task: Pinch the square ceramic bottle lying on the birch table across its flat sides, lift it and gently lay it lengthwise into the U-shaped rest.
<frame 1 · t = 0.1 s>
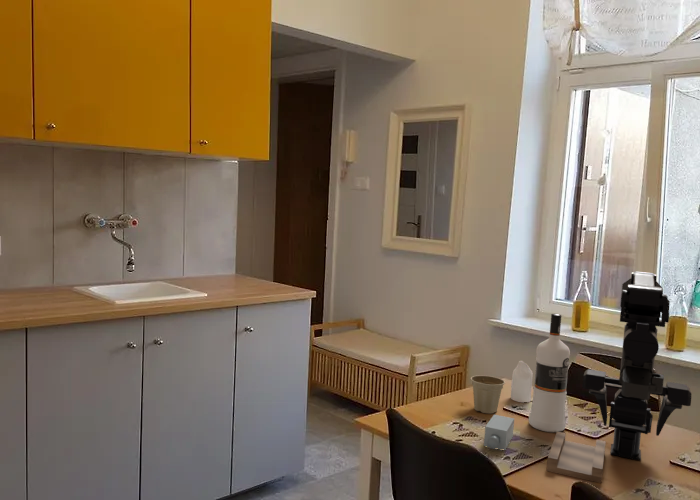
hand: (630, 430, 119), 15 cm above the table, fingers open, 9 cm apart
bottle: (498, 442, 148), on the table
flower pot: (485, 410, 171), on the table
vodka: (546, 427, 161), on the table
u rest: (576, 461, 139), on the table
white pointed cylinder: (520, 400, 183), on the table
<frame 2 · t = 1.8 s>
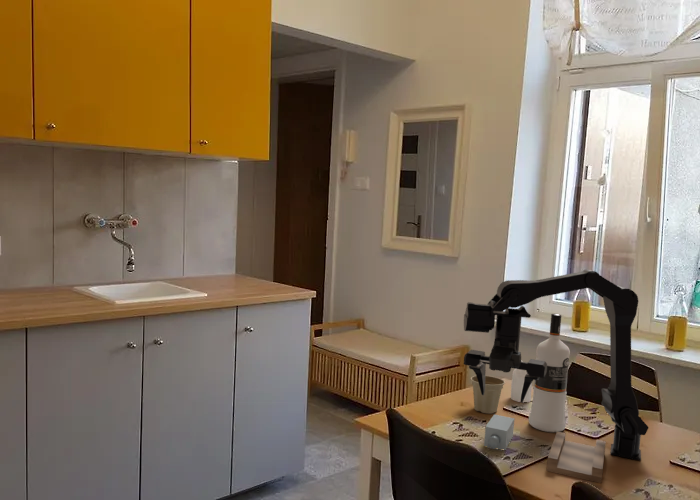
hand: (502, 398, 147), 11 cm above the table, fingers open, 9 cm apart
nothing on the table moved.
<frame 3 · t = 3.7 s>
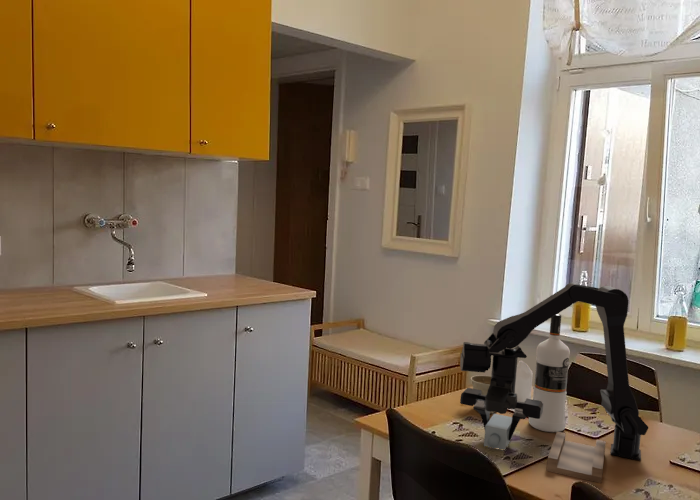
hand: (498, 437, 148), 1 cm above the table, fingers closed on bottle, 5 cm apart
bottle: (498, 441, 148), on the table, touching gripper
everything else where it was.
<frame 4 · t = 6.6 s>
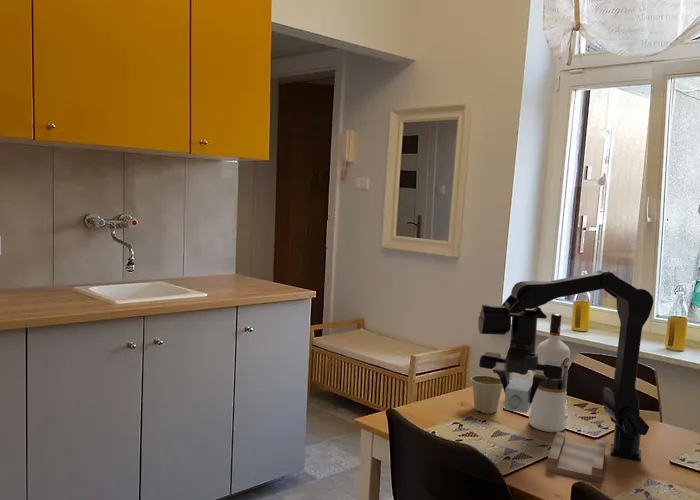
hand: (519, 400, 145), 11 cm above the table, fingers closed on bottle, 5 cm apart
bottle: (519, 405, 146), point 10 cm above the table, touching gripper
everything else where it was.
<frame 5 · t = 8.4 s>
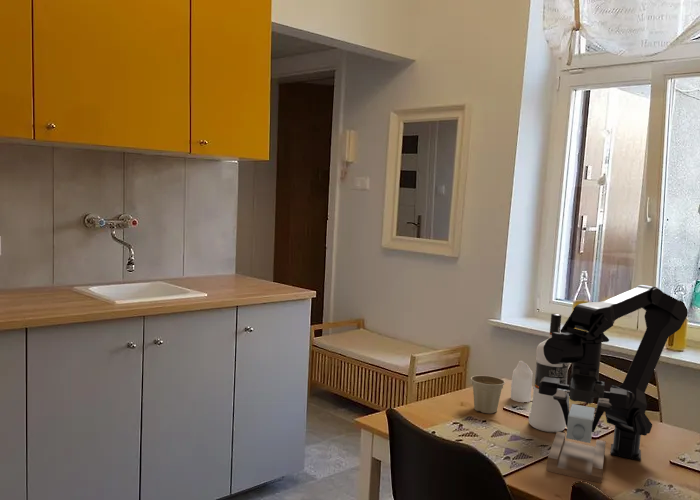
hand: (580, 429, 138), 8 cm above the table, fingers closed on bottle, 5 cm apart
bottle: (579, 433, 139), point 6 cm above the table, touching gripper
everything else where it was.
when the fingers open (4 cm above the table, at t = 9.8 s): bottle drops 2 cm, resting on u rest.
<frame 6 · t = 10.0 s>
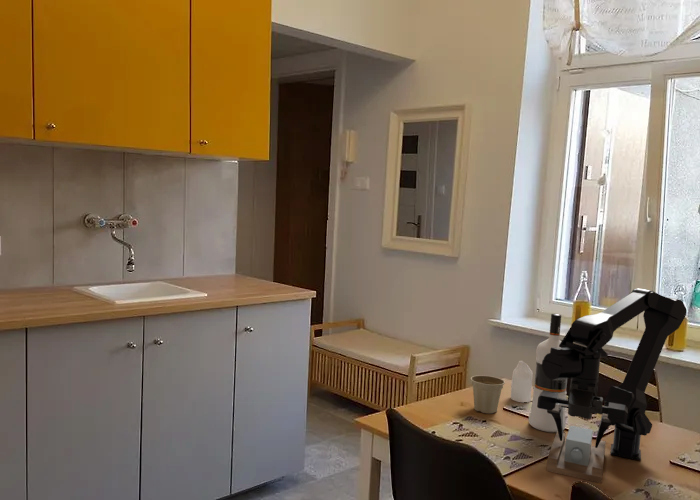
hand: (578, 443, 139), 4 cm above the table, fingers open, 7 cm apart
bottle: (577, 455, 139), point 1 cm above the table, touching u rest
everything else where it was.
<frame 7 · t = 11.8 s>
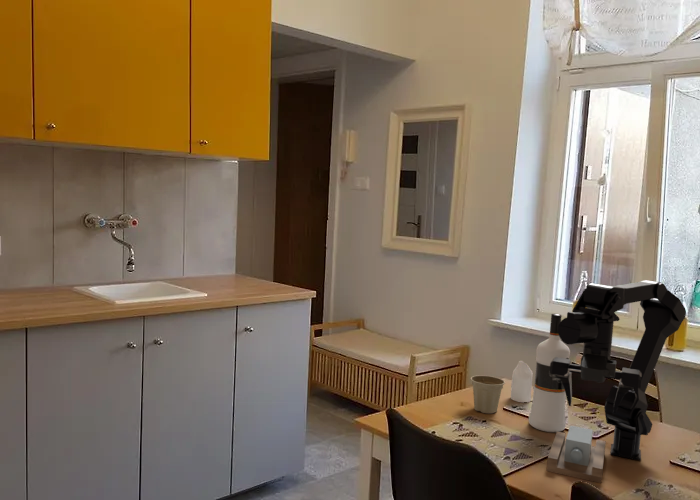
hand: (591, 409, 137), 12 cm above the table, fingers open, 9 cm apart
nothing on the table moved.
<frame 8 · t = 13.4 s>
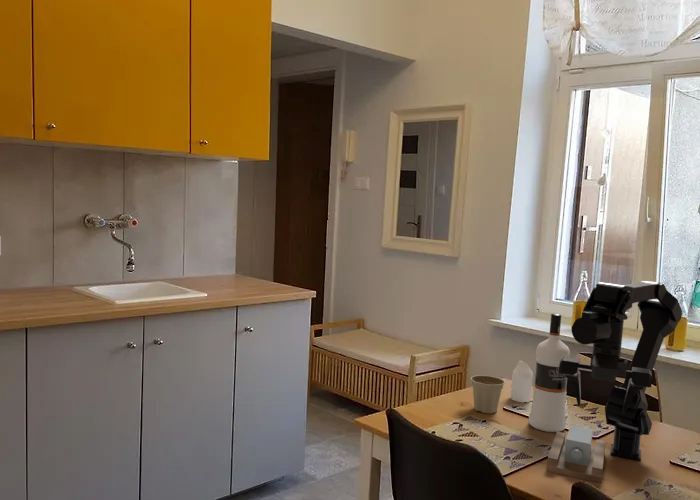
hand: (600, 409, 136), 13 cm above the table, fingers open, 9 cm apart
nothing on the table moved.
at the end: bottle 0.6 cm off-centre on the u rest, point 1.2 cm above the u rest's base; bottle touching u rest; the gripper is holding nothing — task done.
